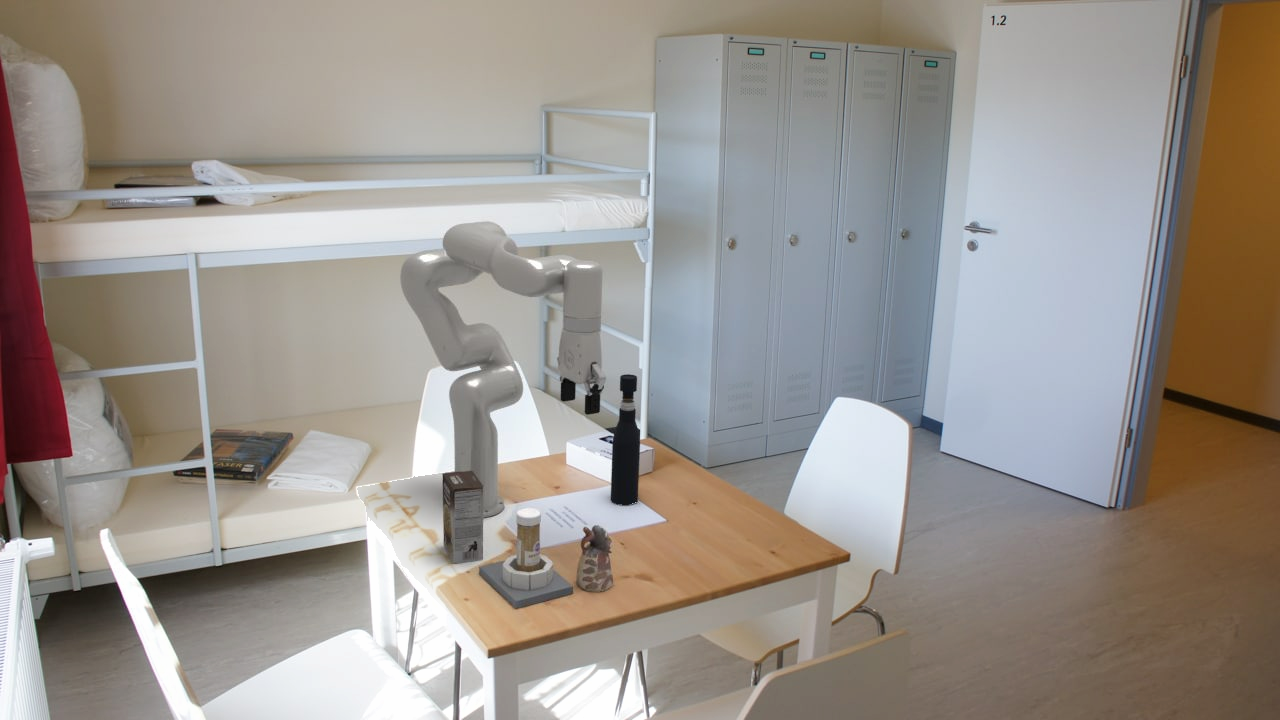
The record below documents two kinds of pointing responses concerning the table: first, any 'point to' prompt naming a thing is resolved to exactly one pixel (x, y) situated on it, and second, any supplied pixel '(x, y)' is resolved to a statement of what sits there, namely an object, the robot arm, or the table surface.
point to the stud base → (524, 594)
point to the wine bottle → (626, 447)
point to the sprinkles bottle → (528, 539)
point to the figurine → (595, 561)
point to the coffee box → (463, 516)
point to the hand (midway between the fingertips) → (579, 406)
